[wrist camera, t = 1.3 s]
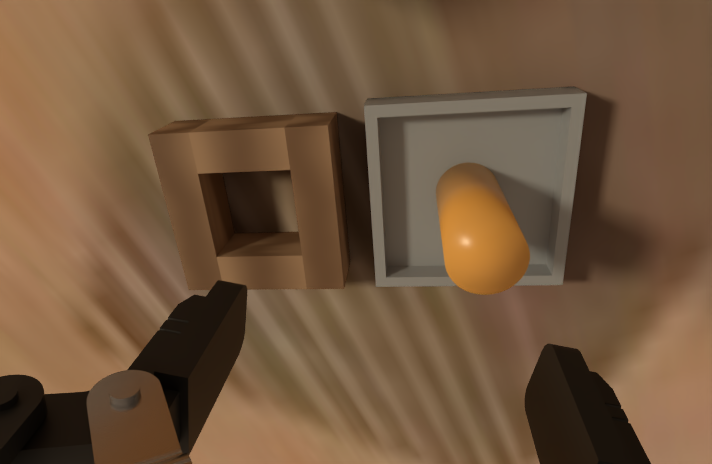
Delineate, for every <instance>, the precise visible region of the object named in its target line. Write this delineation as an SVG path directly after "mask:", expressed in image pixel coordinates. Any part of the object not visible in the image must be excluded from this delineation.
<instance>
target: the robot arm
mask: <svg viewBox="0 0 712 464" xmlns="http://www.w3.org/2000/svg"><path fill="white" fill-rule="evenodd" d="M246 305H247V286H246V285H242V284H237V283H232V282H227V281H221V280H218V281H217V282H216V283H215V285H214V286H213V287H212V289H211V290H210V292H209V293H208V295H207V296H206V297H204V296H199V295H193V296H191V297H190V298H188V299H186V300H185V301H183V302H181V303H180V304H178V305H177V307H176V308H175V309H174V310H173V312H172V313H171V314H170V316H169V317H168V320H166V321H165V322H164V323H163V325H162V326H161V327H160V330H159V331H157V332H156V334H155V335H154V336H153V338H152V339H151V340H150V341H149V343H148V344H147V345H146V347H145V348H144V349H143V350H142V352H141V353H140V354H139V356H138V357H137V358H136V360H135V361H134V362H133V363H132V365H131V366H130V367H129V369H128V370H126V371H121V372H117V373H114V374H111V375H109V376H107V377H105V378H103V379H102V380H100V381H99V382H98V383H97V384H96V385H95V386H93V388H92V389H91V390H90V391H86V392H75V393H59V394H44V389H43V386H42V384H41V383H40V382H39V381H38V380H37V379H35V378H33V377H31V376H26V375H8V376H2V377H0V464H192V462H191V459H190V457H189V454H190V452H191V450H192V448H193V446H194V444H195V442H196V440H197V438H198V436H199V434H200V432H201V430H202V428H203V426H204V424H205V422H206V420H207V418H208V416H209V414H210V412H211V410H212V408H213V406H214V404H215V402H216V400H217V398H218V396H219V394H220V392H221V390H222V388H223V386H224V383H225V381H226V379H227V377H228V375H229V373H230V371H231V369H232V367H233V365H234V363H235V361H236V359H237V357H238V355H239V353H240V350H241V347H242V344H243V340H244V334H245V322H246ZM525 411H526V415H527V418H528V422H529V426H530V429H531V433H532V437H533V440H534V444H535V448H536V451H537V455H538V458H539V462H540V464H651V463H650V461H649V459H648V457H647V455H646V453H645V451H644V449H643V447H642V445H641V443H640V442H639V440H638V438H637V436H636V434H635V432H634V430H633V428H632V426H631V424H630V423H628V418H627V416H626V414H625V412H624V410H623V409H621V405H620V403H619V401H618V399H617V397H616V395H615V393H614V391H613V389H612V388H611V387H610V386H609V385H608V384H607V383H606V382H605V381H604V380H603V379H602V377H601V376H600V375H599V374H598V373H596V372H591V371H589V369H588V367H587V365H586V363H585V361H584V358H583V356H582V354H581V352H580V351H579V350H578V349H574V348H569V347H564V346H558V345H553V344H547V345H545V346H544V348H543V350H542V352H541V355H540V357H539V359H538V362H537V364H536V366H535V369H534V371H533V374H532V376H531V378H530V381H529V383H528V386H527V389H526V393H525Z"/></svg>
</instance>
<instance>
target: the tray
mask: <svg viewBox="0 0 712 464" xmlns="http://www.w3.org/2000/svg"><path fill="white" fill-rule="evenodd" d="M586 97H587V93H586V92H584V91H582V90H580V89H578V88H576V87H559V88H542V89H525V90H508V91H490V92H473V93H456V94H439V95H422V96H405V97H388V98H371V99H367V100H366V102H365V105H364V114H365V129H366V144H367V159H368V174H369V189H370V204H371V219H372V234H373V249H374V264H375V279H376V287H395V286H457V285H456V284H455V283H454V282H453V281H452V280H451V278H450V277H449V275H448V273H447V271H446V268H445V262H444V254H443V247H442V239H441V231H440V224H439V216H438V208H437V201H436V187H437V184H438V181H439V179H440V178H441V176H442V175H443V174H444V173H445V172H446V171H447V170H448V169H450V168H451V167H453V166H455V165H457V164H461V163H477V164H480V165H483V166H485V167H486V168H488V169H489V170H490V171H491V172H492V173H493V174H494V176H495V178H496V180H497V182H498V184H499V186H500V188H501V190H502V192H503V194H504V196H505V198H506V200H507V202H508V204H509V207H510V209H511V211H512V213H513V215H514V217H515V219H516V221H517V223H518V225H519V227H520V229H521V231H522V233H523V236H524V238H525V240H526V242H527V244H528V247H529V251H530V261H529V265H528V268H527V270H526V272H525V274H524V275H523V277H522V278H521V279H520V280H519V281H518V282H517V283H516V284H515V285H563V278H564V270H565V262H566V254H567V246H568V238H569V230H570V223H571V215H572V207H573V199H574V191H575V183H576V175H577V167H578V160H579V152H580V144H581V136H582V128H583V120H584V112H585V105H586Z"/></svg>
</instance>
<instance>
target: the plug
mask: <svg viewBox="0 0 712 464" xmlns="http://www.w3.org/2000/svg"><path fill="white" fill-rule="evenodd" d="M436 201H437V208H438V216H439V224H440V231H441V239H442V247H443V254H444V262H445V268H446V271H447V273H448V275H449V277H450V278H451V280H452V281H453V282H454V283H455V284H456V285H457V286H459V287H460V288H462V289H463V290H465V291H468V292H471V293H474V294H482V295H487V294H495V293H499V292H502V291H505V290H507V289H509V288H511V287H512V286H513V285H515V284H516V283H517V282H518V281H519V280H520V279H521V278H522V277H523V275H524V274H525V272H526V270H527V268H528V265H529V261H530V251H529V247H528V244H527V242H526V240H525V238H524V236H523V233H522V231H521V229H520V227H519V225H518V223H517V221H516V219H515V217H514V215H513V213H512V211H511V209H510V207H509V204H508V202H507V200H506V198H505V196H504V194H503V192H502V190H501V188H500V186H499V184H498V182H497V180H496V178H495V176H494V174H493V173H492V172H491V171H490V170H489V169H488V168H486V167H485V166H483V165H480V164H477V163H461V164H457V165H455V166H453V167H451V168H450V169H448V170H447V171H446V172H445V173H444V174H443V175H442V176H441V178H440V179H439V181H438V184H437V187H436Z"/></svg>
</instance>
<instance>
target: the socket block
mask: <svg viewBox="0 0 712 464" xmlns="http://www.w3.org/2000/svg"><path fill="white" fill-rule="evenodd" d="M148 136H149V140H150V144H151V147H152V151H153V155H154V159H155V163H156V167H157V170H158V174H159V178H160V182H161V186H162V189H163V193H164V197H165V201H166V205H167V208H168V212H169V216H170V220H171V224H172V228H173V231H174V235H175V239H176V243H177V247H178V250H179V254H180V258H181V262H182V266H183V269H184V273H185V277H186V281H187V285H188V289H189V290H211V289H212V287H213V286H214V285H215V283H216V282H217V281H218V280H221V281H227V282H232V283H237V284H242V285H246V286H247V289H344V287H345V283H346V278H347V274H348V270H349V265H350V253H349V242H348V231H347V220H346V209H345V198H344V187H343V176H342V165H341V154H340V143H339V132H338V121H337V112H331V113H313V114H295V115H277V116H259V117H240V118H222V119H204V120H186V121H174V122H172V123H170V124H168V125H166V126H164V127H162V128H160V129H158V130H156V131H154V132H153V133H151V134H149V135H148ZM276 170H290V172H291V179H292V186H293V194H294V201H295V208H296V215H297V222H298V230H299V232H271V233H234V228H233V223H232V218H231V213H230V208H229V203H228V198H227V193H226V188H225V183H224V178H223V174H222V173H227V172H251V171H276Z"/></svg>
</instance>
